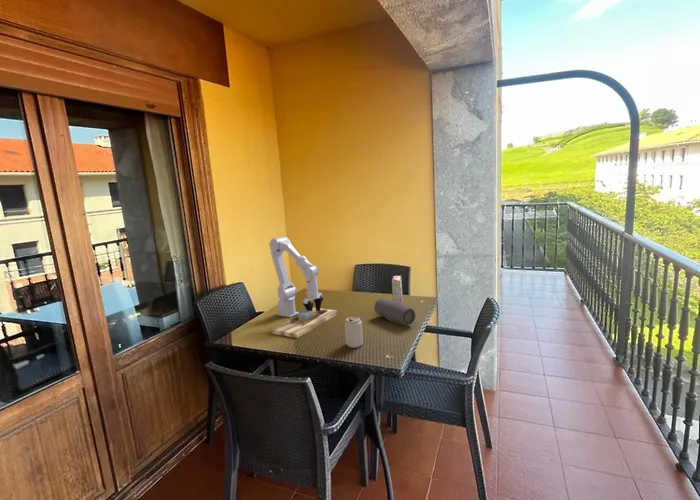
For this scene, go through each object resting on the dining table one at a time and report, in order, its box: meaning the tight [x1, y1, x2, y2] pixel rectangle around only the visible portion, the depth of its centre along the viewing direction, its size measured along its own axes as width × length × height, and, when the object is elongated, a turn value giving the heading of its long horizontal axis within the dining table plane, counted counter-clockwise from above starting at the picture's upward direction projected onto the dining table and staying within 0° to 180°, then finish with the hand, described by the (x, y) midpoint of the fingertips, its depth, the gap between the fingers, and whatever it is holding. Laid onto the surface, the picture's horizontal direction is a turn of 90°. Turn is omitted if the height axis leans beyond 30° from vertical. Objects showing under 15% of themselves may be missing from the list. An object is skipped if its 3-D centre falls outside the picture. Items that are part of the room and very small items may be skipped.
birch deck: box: [270, 307, 339, 339], centre depth 189 cm, size 16×36×2 cm, turn 150°
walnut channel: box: [289, 313, 318, 326], centre depth 187 cm, size 8×13×2 cm, turn 150°
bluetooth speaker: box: [373, 298, 416, 326], centre depth 183 cm, size 23×9×10 cm, turn 32°
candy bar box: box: [391, 275, 404, 305], centre depth 207 cm, size 11×5×16 cm, turn 168°
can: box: [344, 316, 364, 349], centre depth 157 cm, size 8×8×12 cm
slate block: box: [297, 309, 313, 322], centre depth 188 cm, size 5×6×4 cm
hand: (314, 312), depth 195 cm, fingers open, 7 cm apart
